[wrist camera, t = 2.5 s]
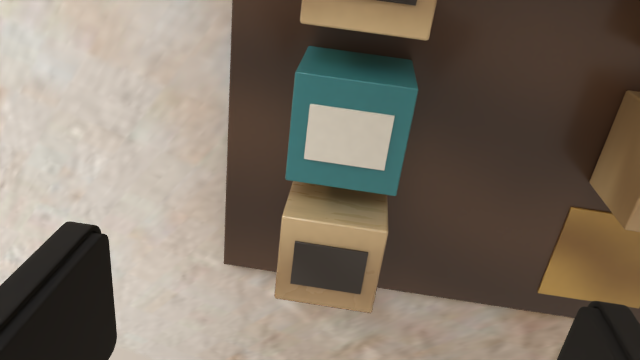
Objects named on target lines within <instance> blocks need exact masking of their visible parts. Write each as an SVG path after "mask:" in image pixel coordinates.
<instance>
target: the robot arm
mask: <svg viewBox="0 0 640 360" xmlns="http://www.w3.org/2000/svg"><path fill="white" fill-rule="evenodd" d="M116 339H117V332H116V320H115V308H114V296H113V285H112V273H111V261H110V250H109V240H108V237H107V235H105V234H101V230H100V228H99V227H98V226H96V225H90V224H83V223H76V222H66V223H65V224H63V225H62V226H61V227H60V228H59V229H58V230H57V231H56V232H55V233H54V234H53V235H52V236H51V237H50V238H49V239H48V240H47V241H46V242H45V243H44V244H43V245H42V246H41V247H40V248H39V249H38V250H37V251H35V252H34V253H33V254H32V255H31V256H30V257H29V258H28V259H27V260H26V261H25V262H24V263H23V264H22V265H21V266H20V267H19V268H18V269H17V270H16V271H15V272H14V273H13V274H12V275H11V276H10V277H9V278H8V279H7V280H6V281H5V282H4V283H3V284H2V285H1V286H0V360H108V359H109V358H110V356H111V354H112V352H113V350H114V347H115V344H116ZM557 360H640V324H639V322H638V321H637V319H636V317H635V316H634V314H633V313H632V311H631V310H630V309H629V308H628V307H627V306H625V305H621V304H615V303H608V302H601V301H592V302H591V303H590V304H589V305H588V307H581V308H580V309H579V310H578V312H577V314H576V317H575V319H574V321H573V324H572V326H571V328H570V331H569V333H568V335H567V338H566V340H565V342H564V345H563V347H562V349H561V351H560V354H559V356H558V358H557Z"/></svg>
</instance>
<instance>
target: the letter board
mask: <svg viewBox="0 0 640 360" xmlns="http://www.w3.org/2000/svg"><path fill="white" fill-rule="evenodd" d="M301 4H302V0H233V2H232V32H231V62H230V93H229V123H228V153H227V183H226V213H225V244H224V264H229V265H235V266H241V267H248V268H254V269H261V270H267V271H274V272H277V263H278V252H279V241H280V231H281V220H282V215H283V211H284V208H285V205H286V202H287V199H288V195H289V192H290V189H291V186H292V183H293V181H289V180H286V179H285V175H286V165H287V154H288V143H289V132H290V121H291V111H292V100H293V89H294V78H295V72H296V70H297V68H298V66H299V64H300V62H301V60H302V58H303V56H304V54H305V52H306V50H307V48H308V46H314V47H321V48H329V49H336V50H343V51H350V52H357V53H365V54H372V55H379V56H386V57H394V58H401V59H408V60H412V62H413V67H414V72H415V76H416V81H417V86H418V95H417V99H416V104H415V109H414V114H413V118H412V123H411V128H410V133H409V138H408V142H407V147H406V152H405V157H404V161H403V166H402V171H401V176H400V180H399V185H398V190H397V195H396V196H391V195H387V202H388V237H387V242H386V247H385V251H384V256H383V261H382V266H381V270H380V275H379V280H378V285H377V288H384V289H390V290H397V291H403V292H410V293H416V294H423V295H429V296H436V297H442V298H449V299H455V300H462V301H468V302H475V303H481V304H488V305H494V306H501V307H507V308H513V309H520V310H526V311H533V312H539V313H546V314H552V315H559V316H565V317H572V318H575V317H576V314H577V312H578V310H579V309H580V308H581V307H588V305H589V304H590V303H591V302H592V301H601V302H608V303H615V304H621V305H625V306H627V307H628V308H629V309H630V310H631V311H632V313H633V314H634V316H635V317H636V319H637V321H638V322H639V324H640V232H636V231H630V230H625V229H624V228H623V226H622V225H621V224H620V223H619V221H618V220H617V219H616V217H615V216H614V215H613V213H612V212H611V211H610V209H609V208H608V207H607V205H606V204H605V203H604V202H603V200H602V199H601V198H600V196H599V195H598V194H597V192H596V191H595V190H594V188H593V187H592V186H591V184H590V179H591V177H592V174H593V172H594V169H595V167H596V164H597V162H598V159H599V157H600V155H601V152H602V150H603V147H604V145H605V142H606V140H607V137H608V135H609V132H610V130H611V127H612V125H613V122H614V120H615V117H616V115H617V112H618V110H619V107H620V105H621V103H622V100H623V98H624V95H625V93H626V91H628V90H630V91H637V92H640V0H437V3H436V8H435V13H434V17H433V22H432V27H431V32H430V37H429V39H428V40H426V41H425V40H417V39H410V38H403V37H396V36H388V35H381V34H374V33H366V32H359V31H352V30H344V29H337V28H330V27H323V26H315V25H308V24H302V23H301V22H300V15H301Z"/></svg>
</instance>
